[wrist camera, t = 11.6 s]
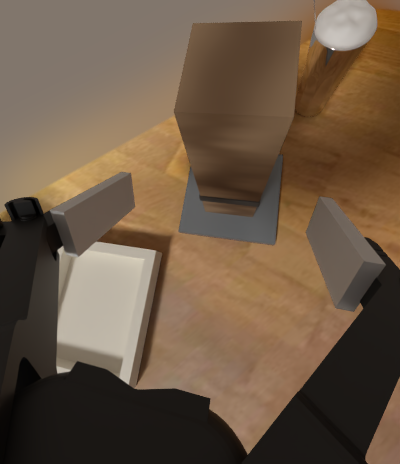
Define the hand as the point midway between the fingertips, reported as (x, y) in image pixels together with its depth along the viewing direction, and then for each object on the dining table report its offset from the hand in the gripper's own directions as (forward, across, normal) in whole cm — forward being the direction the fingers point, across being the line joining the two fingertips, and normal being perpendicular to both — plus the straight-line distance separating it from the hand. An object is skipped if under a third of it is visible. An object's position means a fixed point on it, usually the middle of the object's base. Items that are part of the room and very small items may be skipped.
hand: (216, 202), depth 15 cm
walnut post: (+8, +1, -2) cm, 8 cm away
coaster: (+8, +1, -3) cm, 9 cm away
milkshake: (+17, +7, +6) cm, 19 cm away
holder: (-1, -11, -13) cm, 17 cm away
